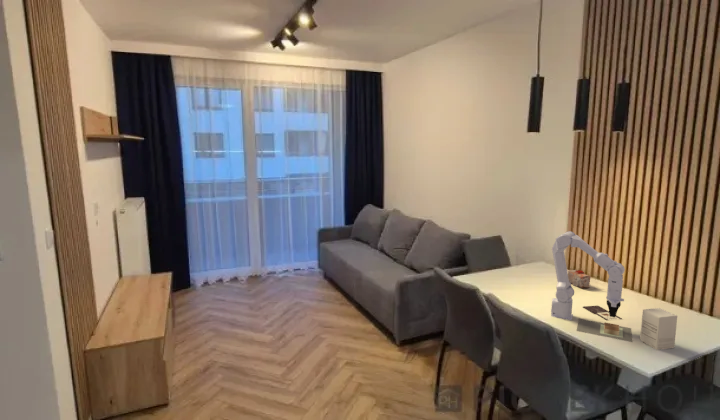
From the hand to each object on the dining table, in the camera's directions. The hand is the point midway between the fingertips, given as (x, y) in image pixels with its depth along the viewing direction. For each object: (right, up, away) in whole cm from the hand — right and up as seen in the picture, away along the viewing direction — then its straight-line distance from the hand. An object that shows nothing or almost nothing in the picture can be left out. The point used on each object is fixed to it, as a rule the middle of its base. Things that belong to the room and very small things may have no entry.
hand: (612, 316), depth 191 cm
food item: (+17, +3, +62) cm, 64 cm away
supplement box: (+11, -9, -14) cm, 20 cm away
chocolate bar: (+6, -4, +19) cm, 20 cm away
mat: (-4, -7, 0) cm, 8 cm away
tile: (0, -5, +1) cm, 5 cm away
